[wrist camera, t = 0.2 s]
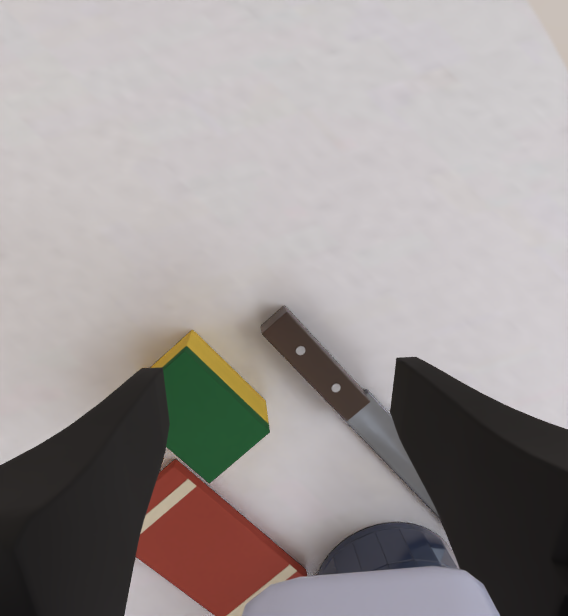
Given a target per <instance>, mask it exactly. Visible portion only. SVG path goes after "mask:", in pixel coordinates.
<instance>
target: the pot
mask: <svg viewBox="0 0 568 616" xmlns="http://www.w3.org/2000/svg"><path fill="white" fill-rule="evenodd" d="M426 566H439V567H448V568H456V569H460V568H459V566H458V563H457V560H456V558H455V555H454V553H453V551H452V550H451V549H450V548H449V546H448V545H447V544H446V542H445V541H444V540H443V539H442V538H441V537H440V536H438V535H437V534H436V533H434V532H432V531H431V530H429V529H427V528H424V527H422V526H418V525H415V524H409V523H385V524H380V525H375V526H372V527H369V528H366V529H364V530H361V531H359V532H357V533H355V534H353V535H351V536H350V537H348V538H347V539H345V540H344V541H343V542H341V543H340V544H339V545H338V546H337V547H336V548H334V549H333V551H332V552H331V553H330V554H329V555H328V556H327V558H326V559H325V561H324V562H323V564H322V566H321V568H320V570H319V572H318V575H329V574H341V573H353V572H366V571H378V570H390V569H402V568H414V567H426Z"/></svg>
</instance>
